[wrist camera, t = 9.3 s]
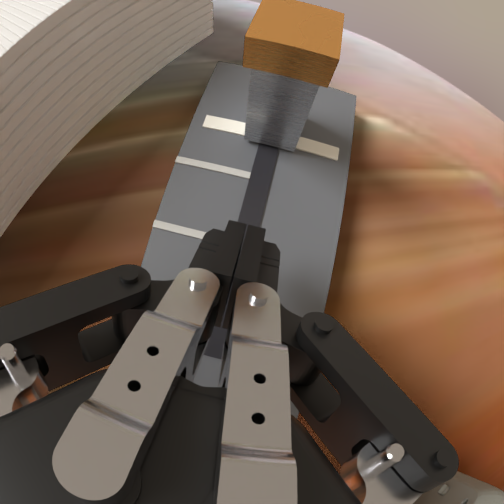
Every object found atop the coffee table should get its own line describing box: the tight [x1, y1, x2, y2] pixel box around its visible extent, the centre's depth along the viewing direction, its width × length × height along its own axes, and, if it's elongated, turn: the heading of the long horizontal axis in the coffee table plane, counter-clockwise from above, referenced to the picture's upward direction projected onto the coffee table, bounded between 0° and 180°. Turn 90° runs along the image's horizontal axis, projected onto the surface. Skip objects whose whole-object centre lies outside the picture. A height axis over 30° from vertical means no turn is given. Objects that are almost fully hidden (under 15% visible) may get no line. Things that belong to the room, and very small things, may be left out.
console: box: [141, 61, 356, 419], centre depth 18 cm, size 10×21×2 cm, turn 166°
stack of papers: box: [0, 0, 214, 237], centre depth 15 cm, size 32×11×11 cm, turn 141°
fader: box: [243, 0, 344, 152], centre depth 14 cm, size 4×4×8 cm
